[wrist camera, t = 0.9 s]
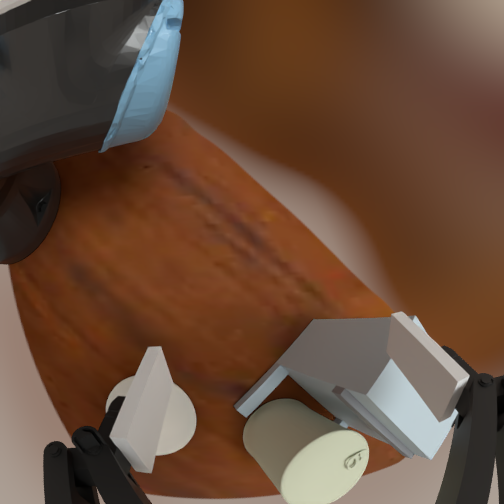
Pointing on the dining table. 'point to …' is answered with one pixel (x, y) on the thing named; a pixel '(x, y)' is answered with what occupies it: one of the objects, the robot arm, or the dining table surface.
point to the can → (305, 452)
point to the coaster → (168, 417)
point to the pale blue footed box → (356, 384)
